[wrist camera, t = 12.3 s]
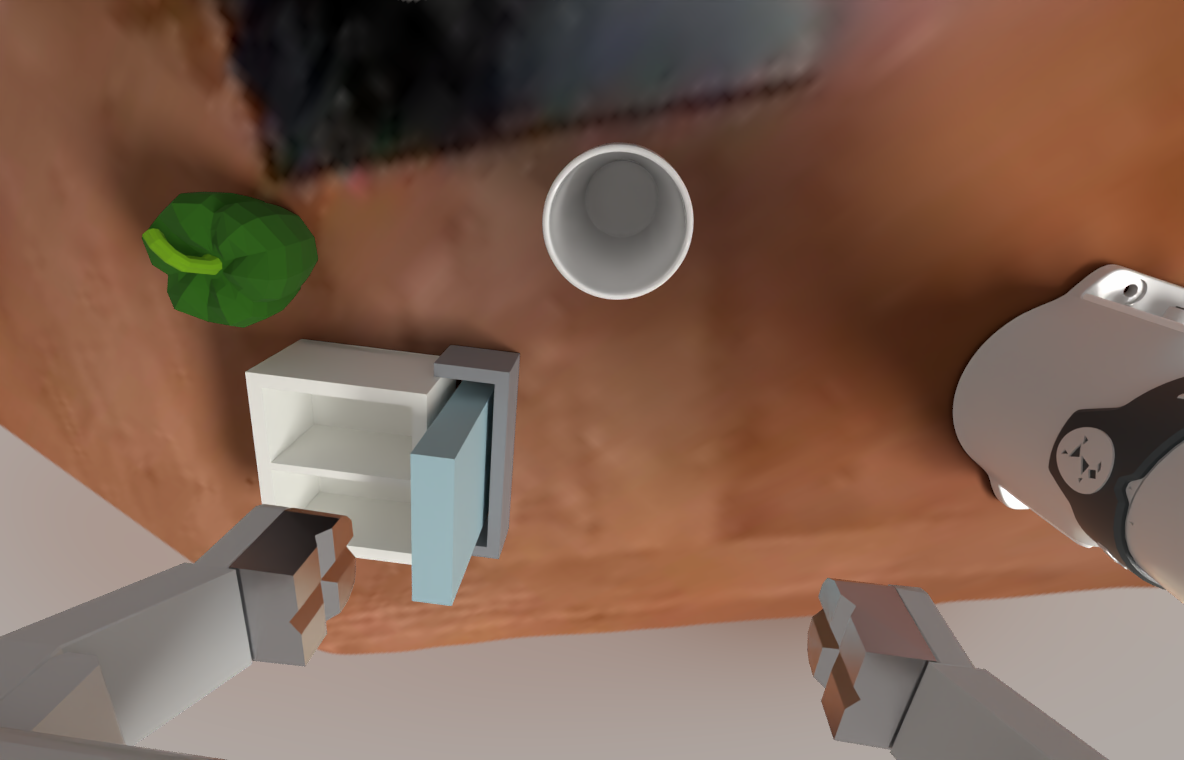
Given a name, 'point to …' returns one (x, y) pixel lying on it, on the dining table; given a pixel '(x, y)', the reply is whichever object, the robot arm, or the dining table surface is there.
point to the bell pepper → (230, 256)
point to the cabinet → (371, 434)
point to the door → (450, 492)
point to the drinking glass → (618, 221)
